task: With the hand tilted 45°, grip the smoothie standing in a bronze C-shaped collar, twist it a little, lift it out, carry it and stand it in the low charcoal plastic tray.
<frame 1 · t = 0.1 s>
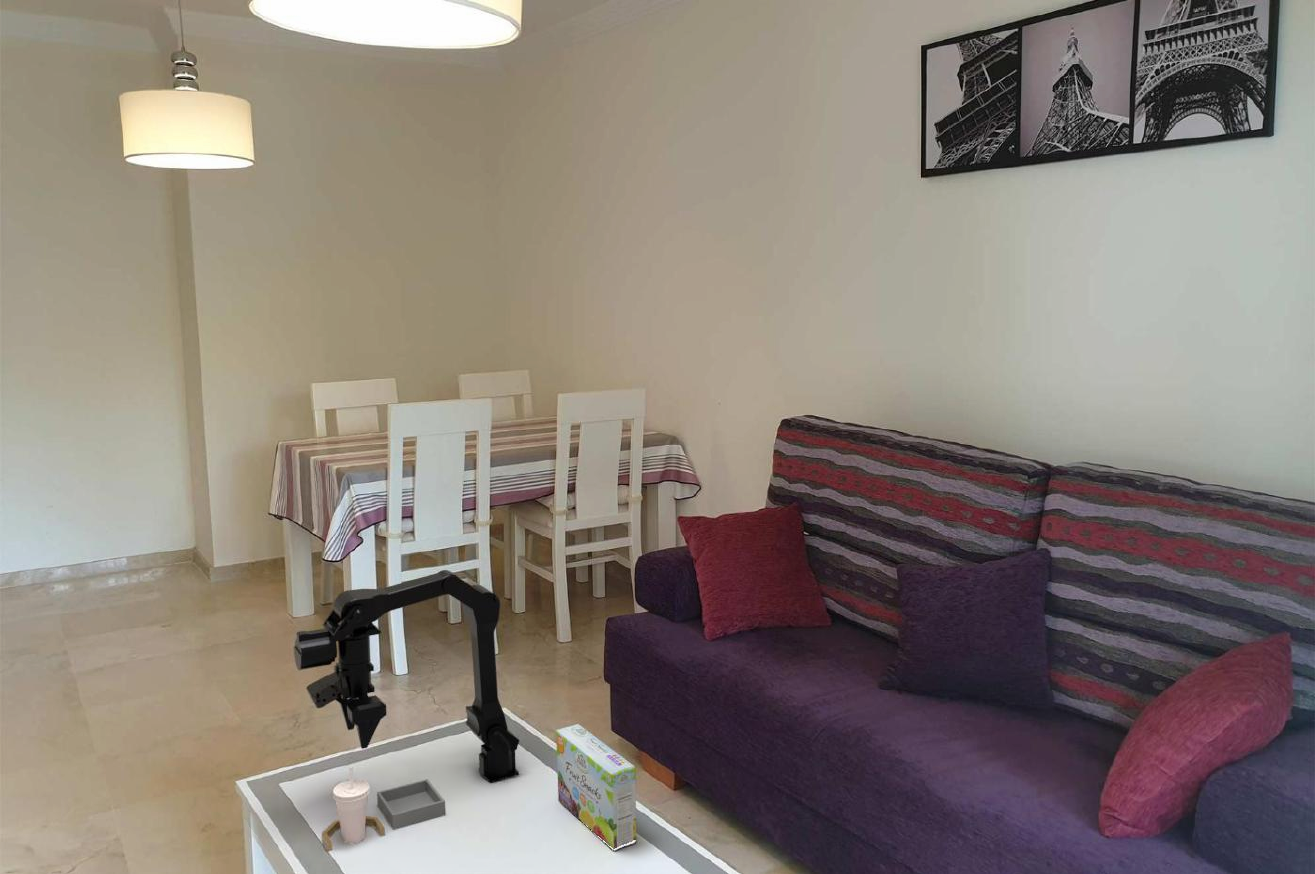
hand: (357, 738, 190), 15 cm above the table, tool pointing down, fingers open, 9 cm apart
smoothie: (353, 838, 183), on the table
snack box: (595, 823, 188), on the table
tray: (411, 810, 192), on the table
collar: (353, 837, 183), on the table
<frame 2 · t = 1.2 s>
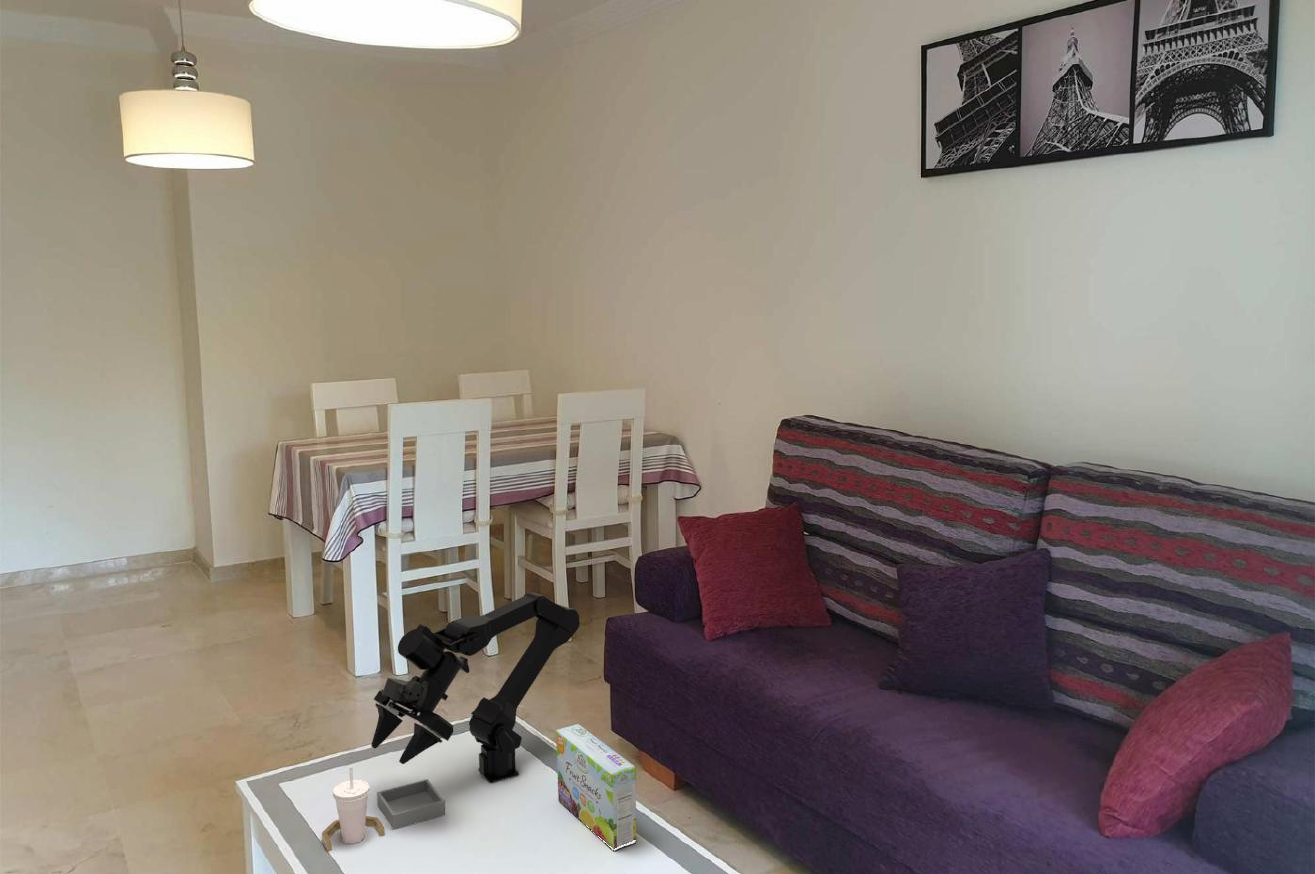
hand: (386, 754, 186), 13 cm above the table, tool tilted 45°, fingers open, 9 cm apart
nothing on the table moved.
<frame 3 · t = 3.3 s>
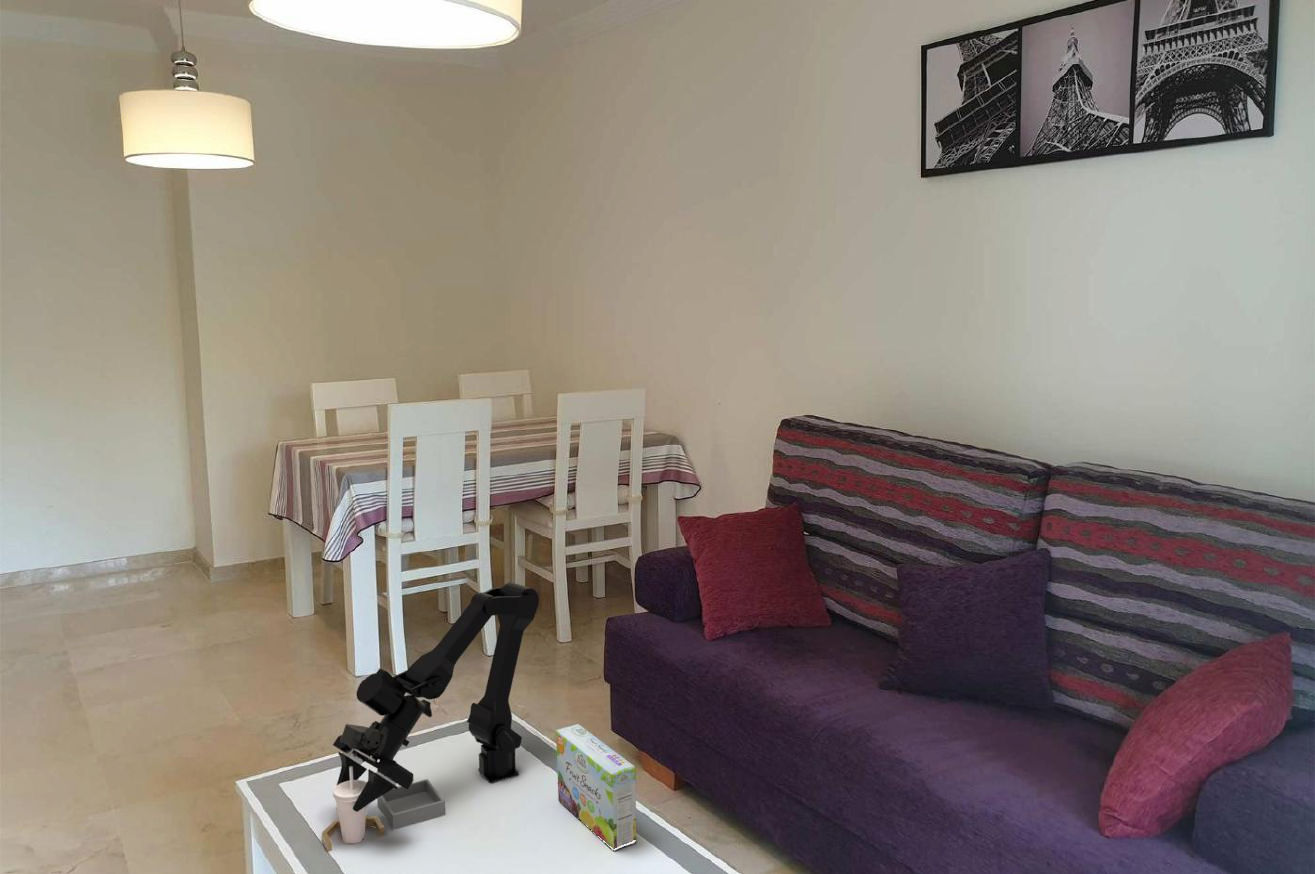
hand: (344, 804, 180), 7 cm above the table, tool tilted 45°, fingers closed on smoothie, 6 cm apart
smoothie: (353, 838, 183), on the table, touching gripper
everything else where it was.
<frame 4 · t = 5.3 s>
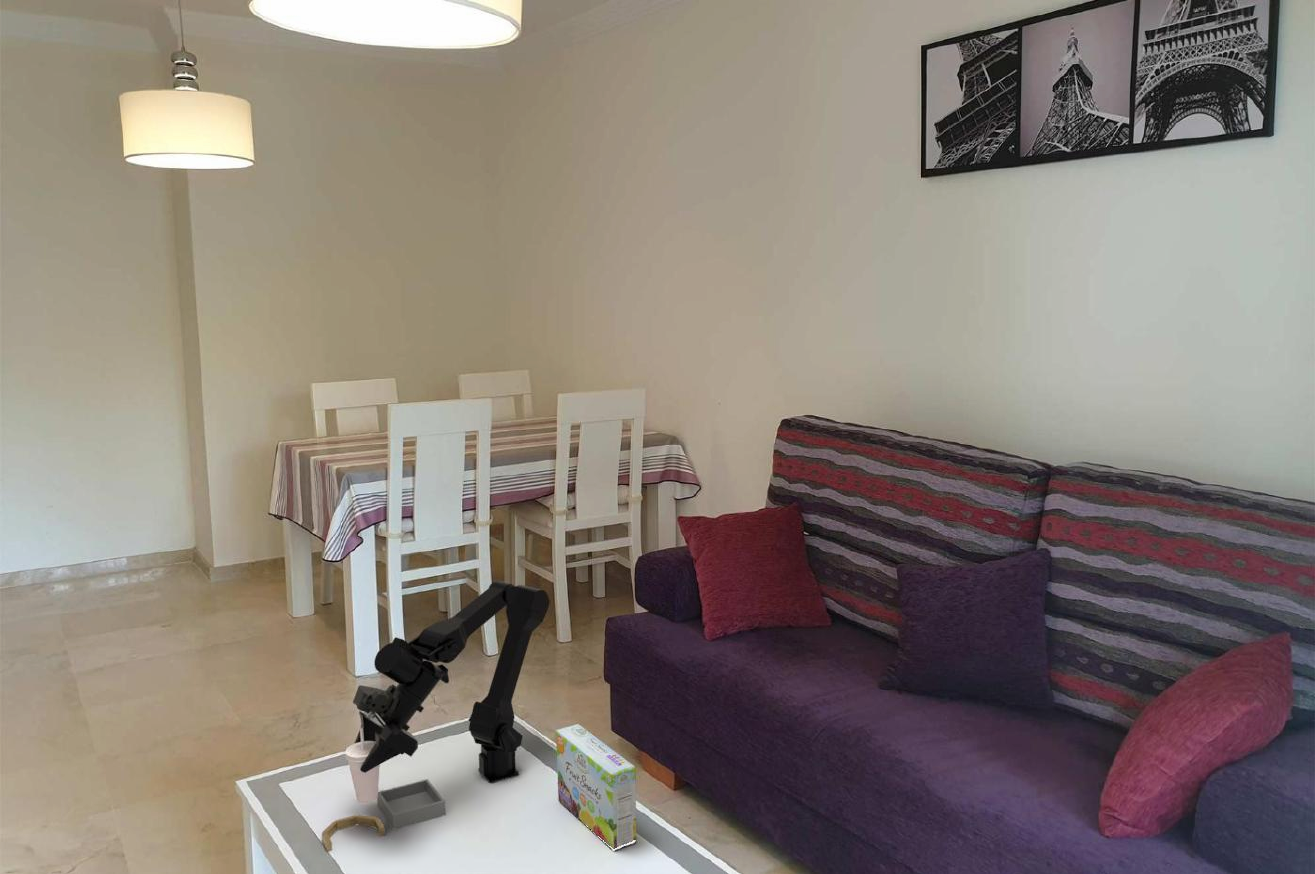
hand: (357, 763, 182), 13 cm above the table, tool tilted 45°, fingers closed on smoothie, 6 cm apart
smoothie: (367, 798, 184), point 6 cm above the table, touching gripper
everything else where it was.
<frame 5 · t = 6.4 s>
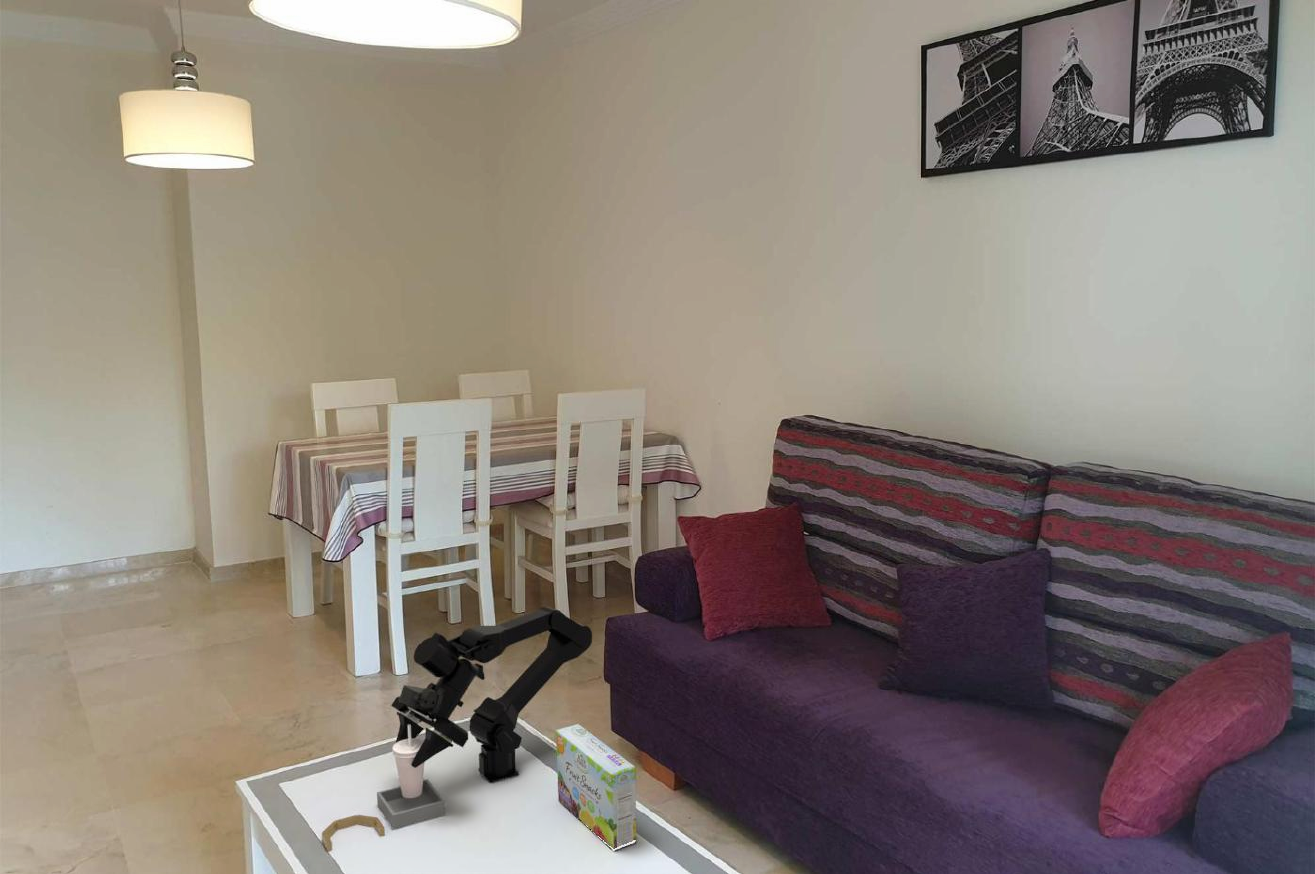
hand: (403, 760, 190), 10 cm above the table, tool tilted 45°, fingers closed on smoothie, 6 cm apart
smoothie: (412, 794, 192), point 3 cm above the table, touching gripper
everything else where it was.
when the fingers open (9 cm above the table, at t = 7.2 s): smoothie stays where it is, resting on tray.
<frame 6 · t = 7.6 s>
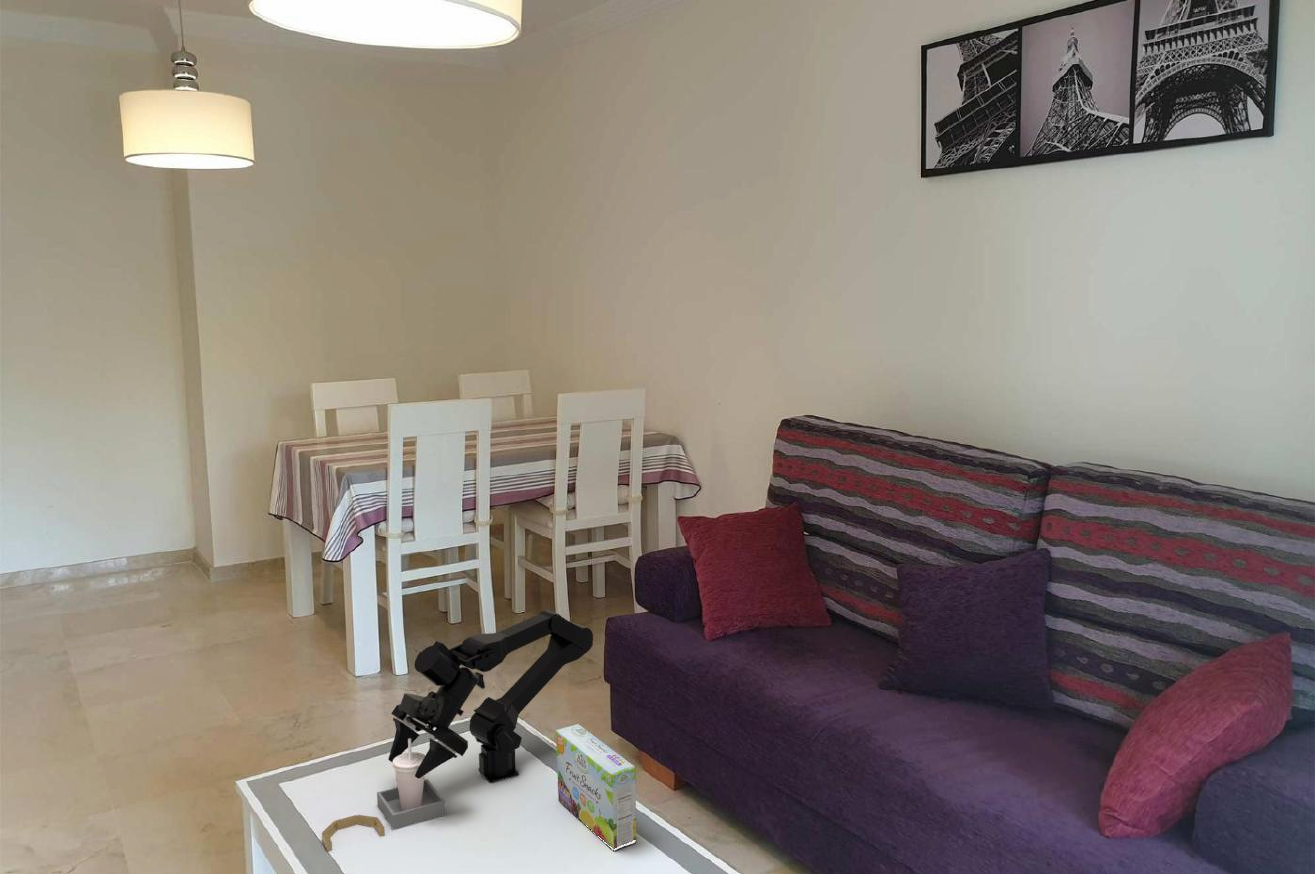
hand: (403, 769, 190), 9 cm above the table, tool tilted 45°, fingers open, 9 cm apart
smoothie: (411, 808, 192), resting on tray
everything else where it was.
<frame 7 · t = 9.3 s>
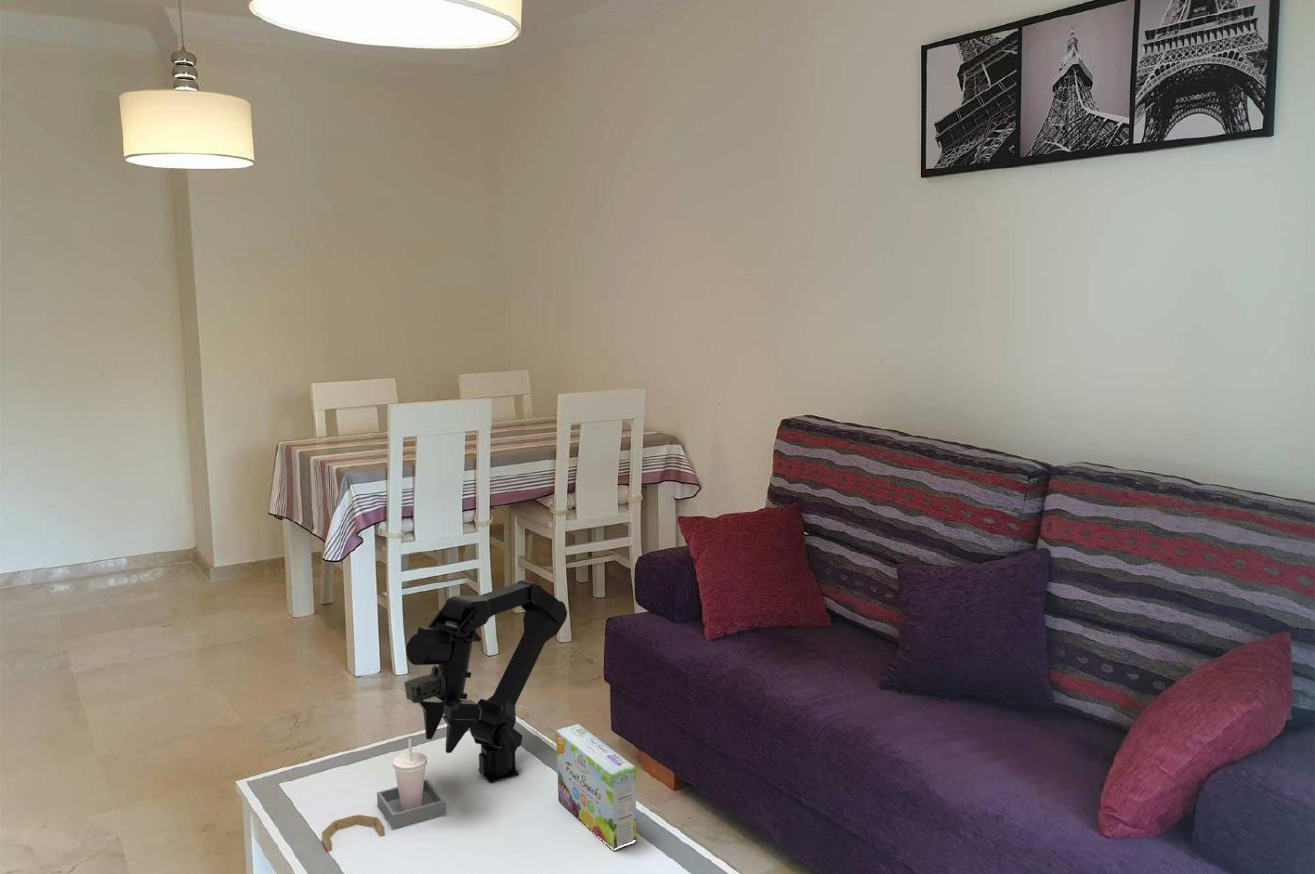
hand: (438, 745, 192), 12 cm above the table, tool tilted 15°, fingers open, 9 cm apart
nothing on the table moved.
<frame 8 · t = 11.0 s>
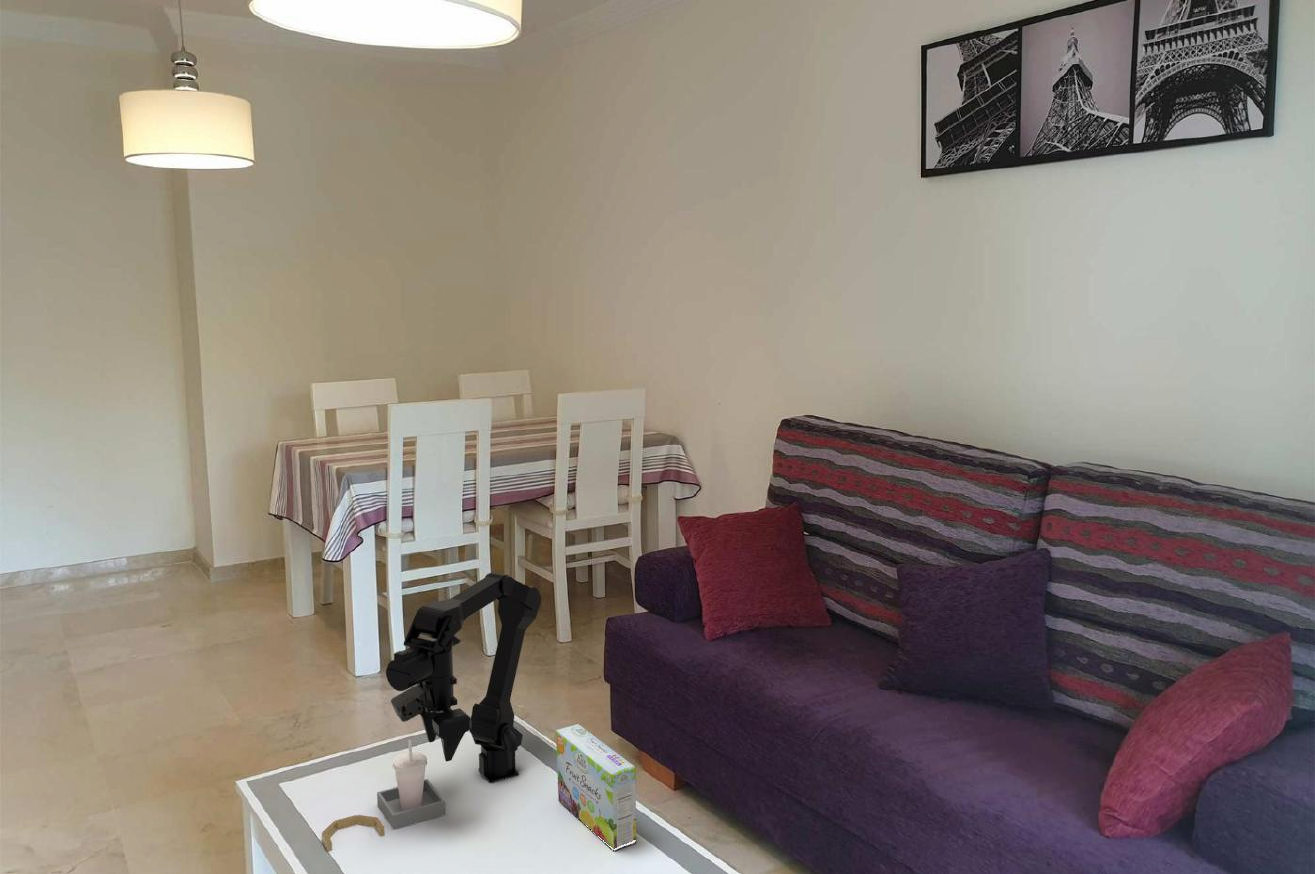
hand: (439, 750, 190), 12 cm above the table, tool pointing down, fingers open, 9 cm apart
nothing on the table moved.
at the end: smoothie inside the target area on the tray (0.1 cm from its centre), point 0.4 cm above the tray's base; smoothie tilted 0°; the gripper is holding nothing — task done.
